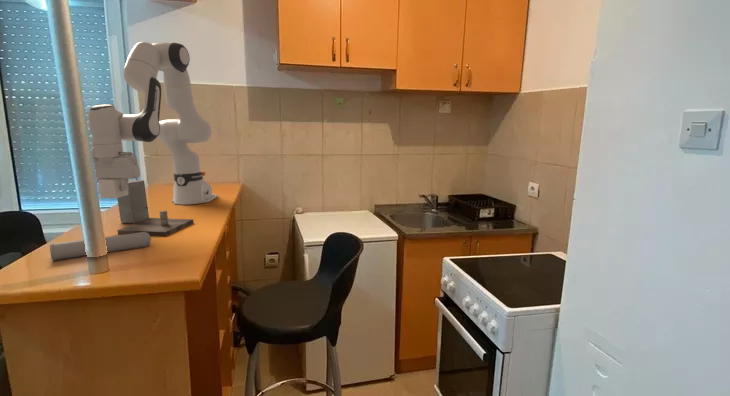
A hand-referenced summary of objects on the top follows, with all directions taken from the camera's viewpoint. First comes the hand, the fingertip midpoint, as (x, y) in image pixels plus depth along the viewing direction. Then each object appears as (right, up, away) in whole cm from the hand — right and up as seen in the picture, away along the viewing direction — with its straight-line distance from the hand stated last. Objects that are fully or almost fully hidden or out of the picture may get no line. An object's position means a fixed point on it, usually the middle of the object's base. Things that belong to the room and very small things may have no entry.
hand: (114, 190), depth 141 cm
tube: (+11, -20, -22) cm, 31 cm away
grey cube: (0, -2, +1) cm, 2 cm away
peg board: (+14, -14, +3) cm, 20 cm away
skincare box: (0, -12, +14) cm, 18 cm away
